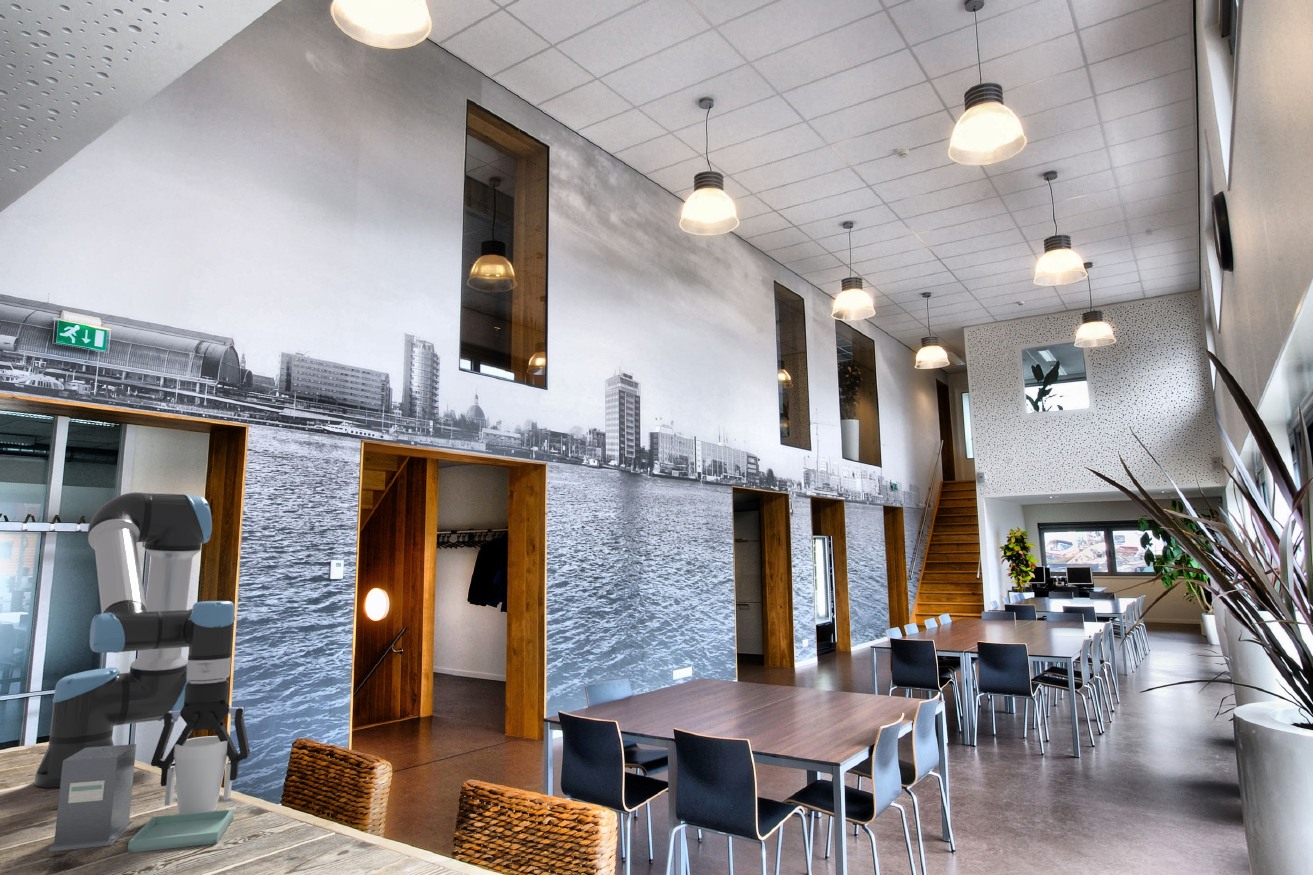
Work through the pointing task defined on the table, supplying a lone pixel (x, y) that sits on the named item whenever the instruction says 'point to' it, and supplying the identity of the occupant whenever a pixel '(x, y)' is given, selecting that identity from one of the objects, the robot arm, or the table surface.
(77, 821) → the unit
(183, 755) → the foam cup
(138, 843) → the tray
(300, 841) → the table surface
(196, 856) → the table surface
